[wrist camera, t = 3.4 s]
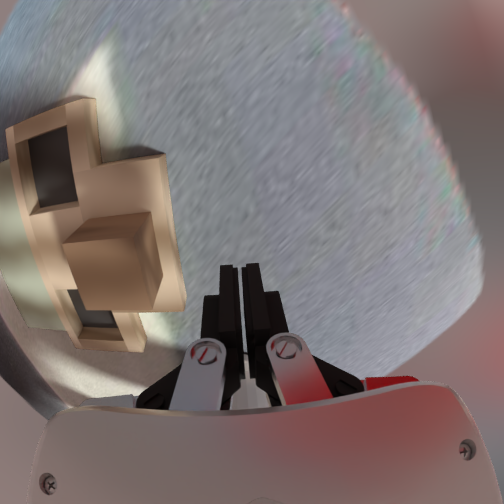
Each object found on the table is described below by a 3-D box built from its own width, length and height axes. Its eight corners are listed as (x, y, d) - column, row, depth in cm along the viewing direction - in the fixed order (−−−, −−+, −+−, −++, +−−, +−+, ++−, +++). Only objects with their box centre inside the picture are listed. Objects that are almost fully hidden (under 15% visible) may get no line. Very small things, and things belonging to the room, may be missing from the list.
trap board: (195, 337, 26) (194, 352, 24) (44, 332, 25) (37, 343, 23) (160, 84, 15) (153, 81, 14) (-18, 144, 14) (-31, 149, 12)
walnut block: (163, 275, 20) (152, 309, 16) (104, 278, 20) (86, 310, 16) (150, 211, 17) (133, 237, 14) (88, 218, 17) (61, 243, 14)
